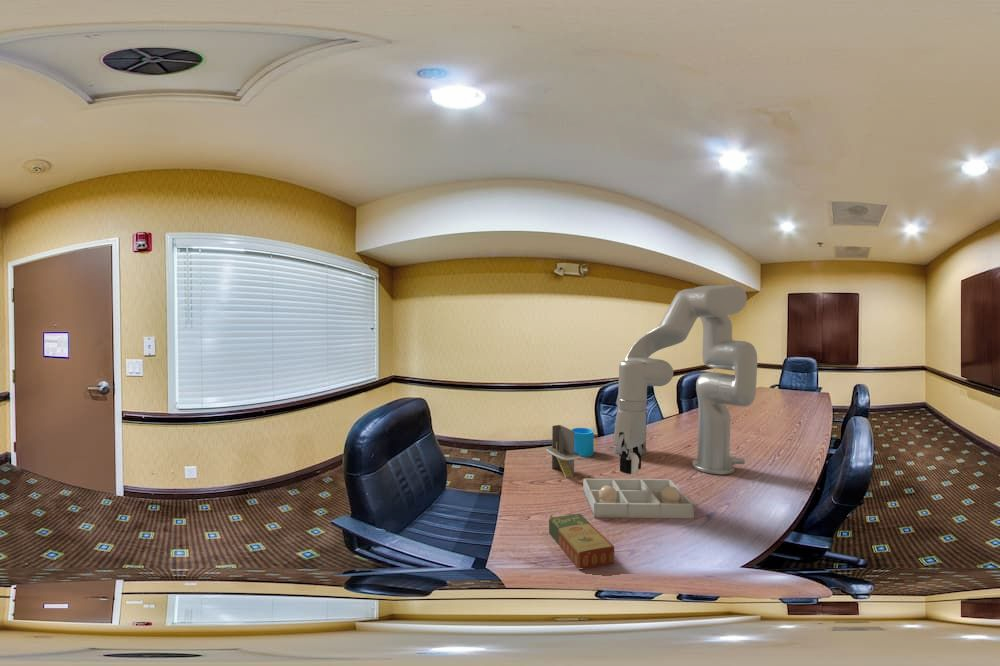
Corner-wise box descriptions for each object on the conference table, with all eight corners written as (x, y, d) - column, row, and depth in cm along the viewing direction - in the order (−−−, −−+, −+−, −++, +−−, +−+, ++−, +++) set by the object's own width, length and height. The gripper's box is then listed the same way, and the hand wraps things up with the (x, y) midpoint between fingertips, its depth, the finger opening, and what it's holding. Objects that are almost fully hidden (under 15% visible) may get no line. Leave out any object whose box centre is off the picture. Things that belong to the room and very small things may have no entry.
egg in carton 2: (675, 504, 121) (676, 483, 120) (682, 512, 116) (682, 490, 116) (658, 504, 121) (658, 483, 121) (664, 512, 116) (664, 490, 116)
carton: (578, 572, 92) (578, 551, 91) (547, 533, 107) (547, 516, 107) (614, 565, 94) (615, 545, 94) (580, 529, 109) (580, 511, 109)
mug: (582, 448, 171) (582, 426, 170) (598, 453, 164) (598, 431, 164) (558, 453, 164) (558, 431, 164) (573, 460, 158) (573, 436, 157)
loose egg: (636, 469, 128) (636, 449, 128) (641, 475, 124) (641, 454, 124) (619, 469, 129) (620, 449, 128) (624, 475, 124) (624, 454, 124)
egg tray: (669, 491, 131) (669, 479, 131) (693, 518, 114) (694, 504, 114) (582, 490, 131) (583, 478, 131) (594, 517, 114) (594, 503, 114)
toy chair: (555, 493, 130) (555, 443, 129) (517, 465, 153) (517, 422, 152) (611, 483, 138) (612, 435, 137) (567, 457, 161) (567, 417, 160)
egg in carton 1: (614, 503, 121) (614, 482, 121) (618, 511, 116) (619, 489, 116) (596, 503, 121) (597, 482, 121) (601, 511, 116) (601, 489, 116)
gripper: (635, 399, 134) (633, 460, 135) (603, 407, 122) (601, 474, 123) (659, 403, 128) (657, 466, 129) (628, 412, 117) (626, 482, 118)
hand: (630, 469), depth 126 cm, fingers closed on loose egg, 4 cm apart
